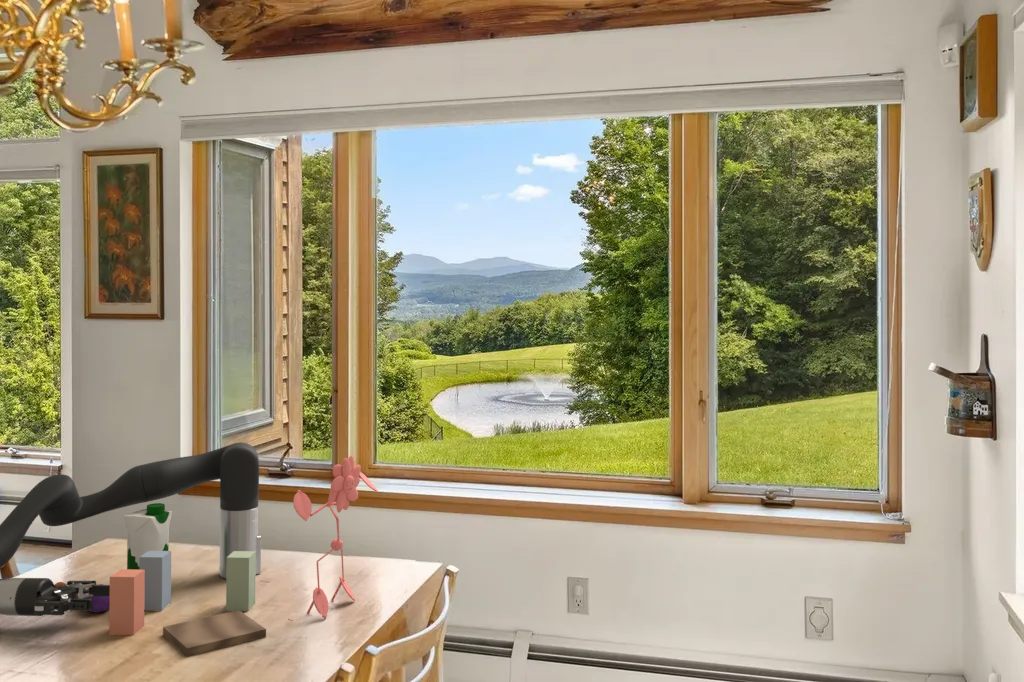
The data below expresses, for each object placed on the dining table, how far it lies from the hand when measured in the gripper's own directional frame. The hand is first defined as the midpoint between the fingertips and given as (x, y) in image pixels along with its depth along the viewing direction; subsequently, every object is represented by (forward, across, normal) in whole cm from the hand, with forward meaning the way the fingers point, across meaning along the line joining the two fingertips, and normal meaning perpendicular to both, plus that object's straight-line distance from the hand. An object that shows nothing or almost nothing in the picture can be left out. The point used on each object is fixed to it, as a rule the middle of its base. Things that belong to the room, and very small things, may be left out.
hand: (102, 597), depth 172 cm
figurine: (+48, +12, +7) cm, 50 cm away
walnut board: (+24, -2, +7) cm, 25 cm away
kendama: (-12, +15, +7) cm, 20 cm away
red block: (+5, 0, +7) cm, 9 cm away
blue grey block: (+5, +14, +7) cm, 16 cm away
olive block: (+24, +14, +7) cm, 29 cm away
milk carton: (-2, +28, +7) cm, 29 cm away
